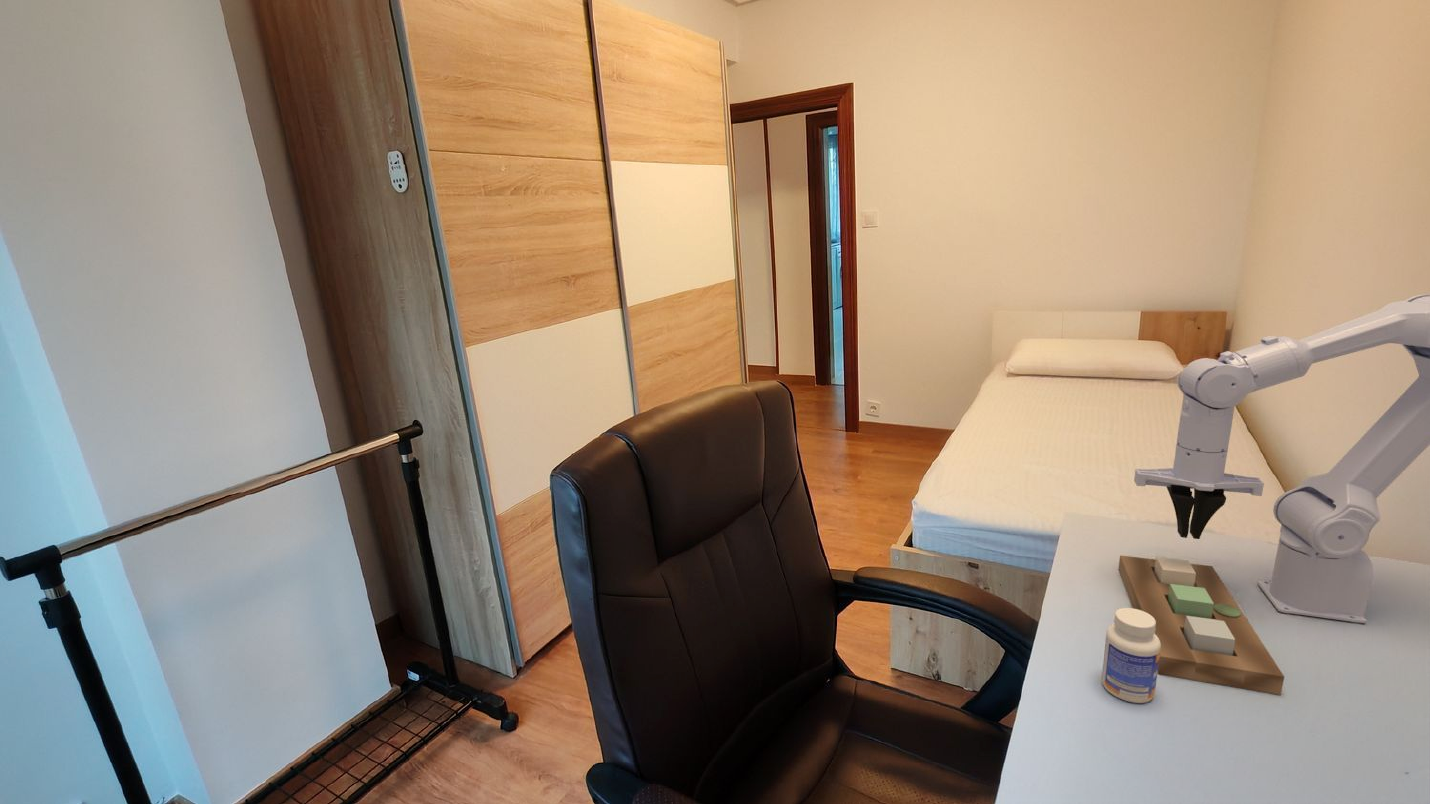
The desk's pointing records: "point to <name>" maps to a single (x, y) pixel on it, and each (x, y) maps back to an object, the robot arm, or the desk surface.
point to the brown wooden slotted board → (1176, 658)
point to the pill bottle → (1131, 656)
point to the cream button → (1174, 571)
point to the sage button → (1190, 601)
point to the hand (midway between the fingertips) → (1188, 535)
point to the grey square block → (1208, 635)
